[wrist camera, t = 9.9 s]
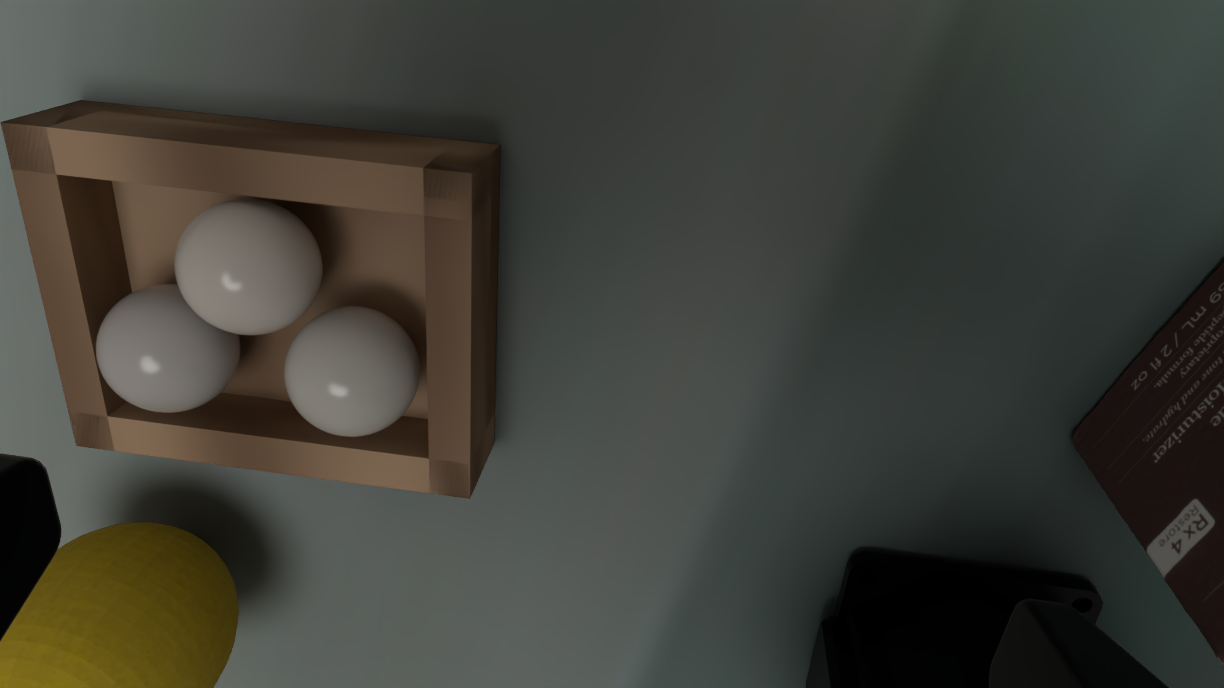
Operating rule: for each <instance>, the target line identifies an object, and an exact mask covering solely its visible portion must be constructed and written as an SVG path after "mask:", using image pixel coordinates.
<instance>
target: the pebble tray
mask: <svg viewBox="0 0 1224 688" xmlns="http://www.w3.org/2000/svg"><path fill="white" fill-rule="evenodd" d="M1 126H2V130H3V134H4V139H5V143H6V147H7V152H8V156H9V160H10V164H11V169H12V173H13V177H14V181H15V186H16V190H17V194H18V199H19V203H20V207H21V211H22V216H23V220H24V224H25V228H26V233H27V237H28V241H29V246H30V250H31V254H32V258H33V263H34V267H35V271H36V275H37V280H38V284H39V288H40V293H41V297H42V301H43V305H44V310H45V314H46V318H47V322H48V327H49V331H50V335H51V339H52V344H53V348H54V352H55V357H56V361H57V365H58V369H59V374H60V378H61V382H62V386H63V391H64V395H65V399H66V404H67V408H68V412H69V416H70V421H71V425H72V429H73V433H74V438H75V442H76V446H82V447H89V448H97V449H104V450H111V451H119V452H126V453H134V454H141V455H149V456H156V457H164V458H171V459H178V460H186V461H193V462H201V463H208V464H216V465H223V466H231V467H238V468H245V469H253V470H260V471H268V472H275V473H283V474H290V475H298V476H305V477H313V478H320V479H327V480H335V481H342V482H350V483H357V484H365V485H372V486H380V487H387V488H394V489H402V490H409V491H417V492H424V493H432V494H439V495H447V496H454V497H461V498H469V499H470V497H471V495H472V493H473V491H474V488H475V486H476V484H477V481H478V479H479V477H480V475H481V472H482V470H483V468H484V465H485V463H486V461H487V459H488V456H489V454H490V452H491V449H492V447H493V445H494V434H495V385H496V336H497V287H498V239H499V190H500V145H498V144H489V143H479V142H470V141H460V140H451V139H441V138H432V137H422V136H413V135H403V134H394V133H385V132H375V131H366V130H356V129H347V128H337V127H328V126H318V125H309V124H300V123H290V122H281V121H271V120H262V119H252V118H243V117H233V116H224V115H215V114H205V113H196V112H186V111H177V110H167V109H158V108H148V107H139V106H130V105H120V104H111V103H101V102H92V101H82V100H80V101H76V102H72V103H69V104H65V105H61V106H58V107H54V108H50V109H47V110H43V111H40V112H36V113H32V114H29V115H25V116H21V117H18V118H14V119H10V120H7V121H3V122H1ZM239 198H253V199H261V200H266V201H269V202H272V203H275V204H277V205H279V206H282V207H284V208H286V209H287V210H289V211H291V212H292V213H293V214H295V215H296V216H297V217H298V218H299V219H301V220H302V221H303V222H304V224H305V225H306V226H307V227H308V228H309V230H310V231H311V233H312V234H313V236H314V238H315V239H316V241H317V244H318V246H319V249H320V253H321V258H322V265H323V273H322V280H321V285H320V288H319V291H318V294H317V296H316V298H315V300H314V302H313V303H312V305H311V306H310V308H309V309H308V310H307V311H306V312H305V313H304V314H303V315H302V316H301V317H300V318H299V319H297V320H296V321H295V322H293V323H292V324H291V325H289V326H287V327H285V328H283V329H281V330H278V331H275V332H272V333H267V334H262V335H240V334H239V338H240V359H239V363H238V366H237V369H236V372H235V374H234V376H233V378H232V379H231V381H230V382H229V384H228V385H227V386H226V387H225V388H224V390H223V391H222V392H221V393H220V394H218V395H217V396H216V397H215V398H213V399H212V400H211V401H209V402H207V403H205V404H203V405H201V406H199V407H197V408H194V409H190V410H187V411H182V412H174V413H163V412H154V411H149V410H146V409H142V408H140V407H137V406H135V405H133V404H131V403H129V402H127V401H126V400H124V399H123V398H121V397H120V396H119V395H118V394H116V393H115V392H114V391H113V390H112V388H111V387H110V386H109V385H108V384H107V382H106V381H105V379H104V377H103V375H102V373H101V371H100V368H99V365H98V362H97V357H96V340H97V335H98V332H99V329H100V326H101V324H102V322H103V320H104V318H105V317H106V315H107V314H108V312H109V311H110V310H111V309H112V308H113V306H114V305H115V304H117V303H118V302H119V301H120V300H121V299H123V298H124V297H126V296H127V295H129V294H131V293H133V292H135V291H137V290H139V289H142V288H145V287H149V286H153V285H161V284H177V280H176V276H175V267H174V262H175V254H176V249H177V245H178V242H179V240H180V238H181V235H182V234H183V232H184V230H185V229H186V227H187V226H188V225H189V224H190V222H191V221H192V220H193V219H194V218H195V217H196V216H197V215H199V214H200V213H201V212H203V211H204V210H206V209H207V208H209V207H211V206H213V205H215V204H218V203H220V202H223V201H227V200H231V199H239ZM177 285H178V284H177ZM345 306H360V307H366V308H371V309H374V310H378V311H380V312H382V313H384V314H386V315H388V316H390V317H391V318H393V319H394V320H395V321H397V322H398V323H399V324H400V325H401V326H402V327H403V328H404V329H405V330H406V331H407V333H408V334H409V336H410V337H411V339H412V341H413V342H414V344H415V347H416V350H417V352H418V356H419V360H420V381H419V385H418V390H417V392H416V395H415V397H414V399H413V401H412V403H411V405H410V406H409V408H408V409H407V410H406V411H405V413H404V414H403V415H402V416H401V417H400V418H399V419H398V420H397V421H395V422H394V423H393V424H391V425H390V426H388V427H387V428H385V429H383V430H380V431H378V432H376V433H373V434H370V435H365V436H359V437H347V436H338V435H333V434H330V433H327V432H325V431H322V430H320V429H318V428H317V427H315V426H313V425H312V424H310V423H309V422H308V421H307V420H306V419H304V418H303V417H302V416H301V415H300V414H299V412H298V411H297V410H296V408H295V407H294V405H293V404H292V402H291V400H290V398H289V395H288V393H287V390H286V386H285V381H284V364H285V358H286V355H287V351H288V349H289V346H290V344H291V342H292V340H293V339H294V337H295V336H296V334H297V333H298V332H299V330H300V329H301V328H302V327H303V326H304V325H305V324H306V323H308V322H309V321H310V320H311V319H313V318H314V317H316V316H317V315H319V314H321V313H323V312H326V311H328V310H331V309H334V308H339V307H345Z"/></svg>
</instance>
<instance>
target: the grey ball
mask: <svg viewBox="0 0 1224 688" xmlns="http://www.w3.org/2000/svg"><path fill="white" fill-rule="evenodd" d="M174 267H175V276H176V280H177V284H178V287H179V290H180V292H181V294H182V296H183V298H184V299H185V301H186V302H187V304H188V305H189V306H190V307H191V309H192V310H193V311H194V312H195V313H196V314H197V315H198V316H200V317H201V318H202V319H203V320H205V321H206V322H207V323H209V324H211V325H213V326H214V327H216V328H219V329H221V330H224V331H227V332H230V333H234V334H240V335H262V334H267V333H272V332H275V331H278V330H281V329H283V328H285V327H287V326H289V325H291V324H292V323H293V322H295V321H296V320H297V319H299V318H300V317H301V316H302V315H303V314H304V313H305V312H306V311H307V310H308V309H309V308H310V306H311V305H312V303H313V302H314V300H315V298H316V296H317V294H318V291H319V288H320V285H321V280H322V273H323V265H322V258H321V253H320V249H319V246H318V244H317V241H316V239H315V238H314V236H313V234H312V233H311V231H310V230H309V228H308V227H307V226H306V225H305V224H304V222H303V221H302V220H301V219H299V218H298V217H297V216H296V215H295V214H293V213H292V212H291V211H289V210H287V209H286V208H284V207H282V206H279V205H277V204H275V203H272V202H269V201H266V200H261V199H253V198H239V199H231V200H227V201H223V202H220V203H218V204H215V205H213V206H211V207H209V208H207V209H206V210H204V211H203V212H201V213H200V214H199V215H197V216H196V217H195V218H194V219H193V220H192V221H191V222H190V224H189V225H188V226H187V227H186V229H185V230H184V232H183V234H182V235H181V238H180V240H179V242H178V245H177V249H176V254H175V262H174Z"/></svg>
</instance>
